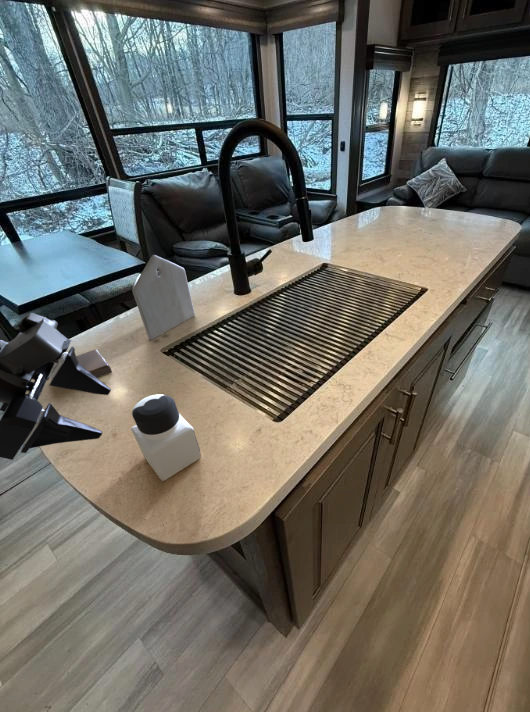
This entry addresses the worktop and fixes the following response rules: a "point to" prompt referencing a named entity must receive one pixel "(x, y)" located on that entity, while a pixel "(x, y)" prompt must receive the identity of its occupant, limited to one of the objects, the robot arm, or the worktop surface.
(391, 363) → the worktop surface
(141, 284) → the grey house-shaped board
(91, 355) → the brown square tile
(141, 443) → the medicine bottle
